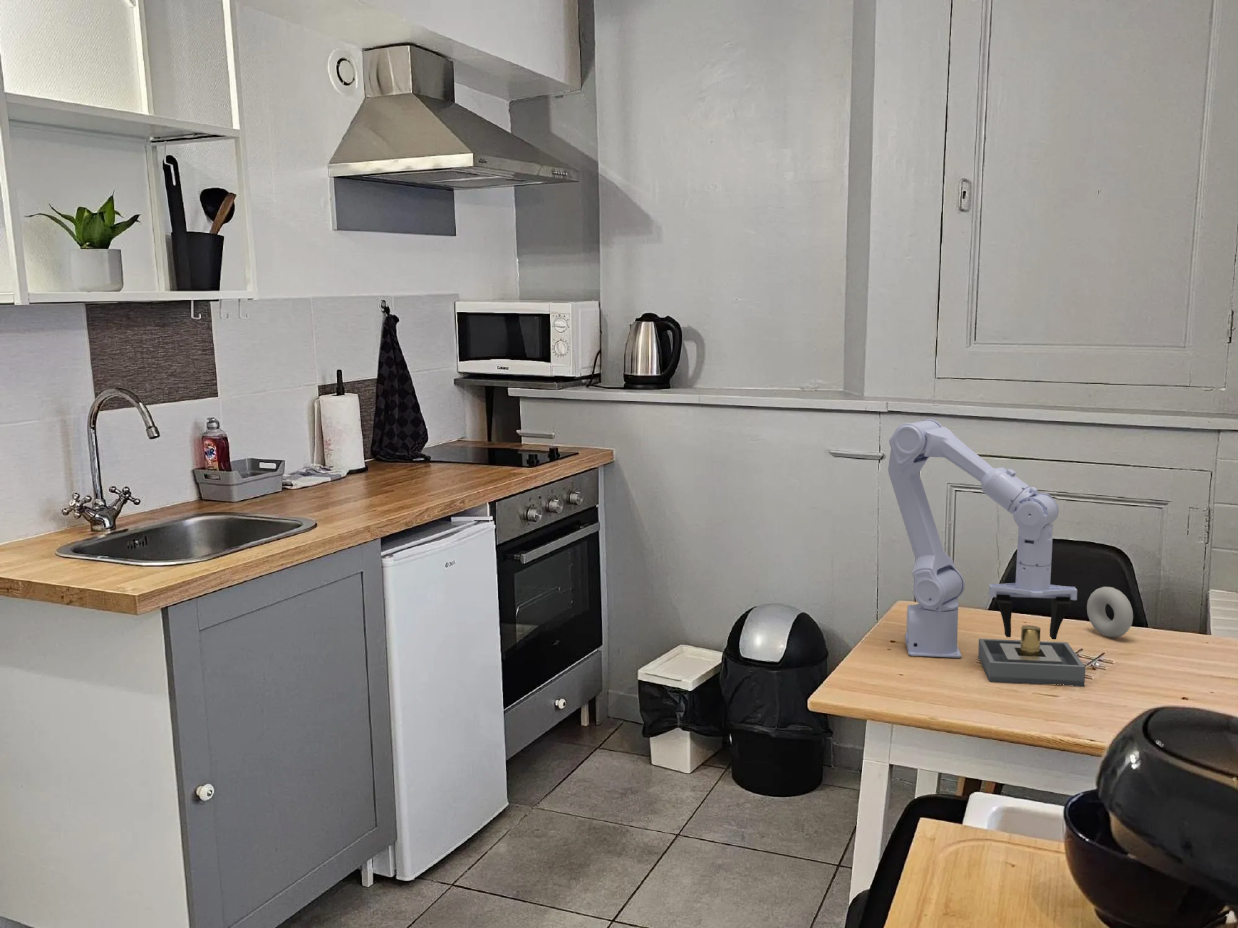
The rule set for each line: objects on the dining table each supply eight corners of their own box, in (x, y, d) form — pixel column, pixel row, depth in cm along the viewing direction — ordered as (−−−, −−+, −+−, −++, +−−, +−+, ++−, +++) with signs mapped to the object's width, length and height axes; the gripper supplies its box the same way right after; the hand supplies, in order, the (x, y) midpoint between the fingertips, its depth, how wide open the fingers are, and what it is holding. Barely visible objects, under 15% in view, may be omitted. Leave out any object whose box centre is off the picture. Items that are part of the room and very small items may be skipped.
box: (989, 681, 185) (990, 662, 184) (978, 656, 198) (978, 638, 197) (1084, 686, 182) (1085, 666, 181) (1066, 660, 195) (1067, 642, 195)
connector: (1021, 668, 189) (1023, 630, 187) (1018, 662, 192) (1019, 624, 191) (1040, 668, 188) (1042, 630, 187) (1036, 663, 191) (1038, 625, 190)
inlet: (1007, 672, 186) (1007, 659, 186) (998, 656, 195) (999, 643, 195) (1061, 675, 185) (1062, 661, 184) (1050, 658, 193) (1051, 645, 193)
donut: (1081, 630, 213) (1084, 582, 211) (1094, 628, 214) (1096, 580, 213) (1122, 644, 204) (1125, 594, 202) (1135, 642, 205) (1138, 592, 203)
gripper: (994, 566, 184) (991, 641, 187) (1082, 569, 182) (1078, 645, 184) (988, 557, 191) (985, 629, 193) (1073, 559, 189) (1069, 633, 191)
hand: (1030, 636), depth 189 cm, fingers open, 7 cm apart
